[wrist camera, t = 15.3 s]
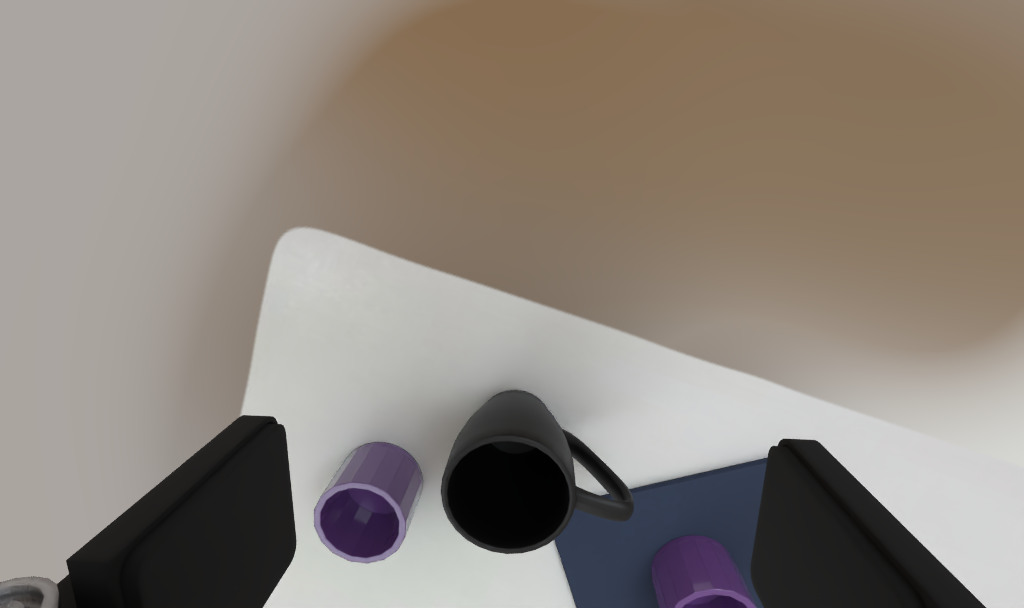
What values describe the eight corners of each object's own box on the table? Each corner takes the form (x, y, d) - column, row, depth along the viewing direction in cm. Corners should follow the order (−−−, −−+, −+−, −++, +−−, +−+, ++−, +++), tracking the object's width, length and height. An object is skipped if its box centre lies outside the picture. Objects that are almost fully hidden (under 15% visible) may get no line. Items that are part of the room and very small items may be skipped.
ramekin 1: (406, 433, 42) (386, 473, 36) (433, 504, 43) (418, 552, 38) (330, 452, 42) (299, 494, 37) (359, 521, 44) (333, 571, 38)
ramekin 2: (725, 526, 41) (752, 581, 36) (741, 594, 43) (769, 656, 38) (642, 544, 42) (657, 600, 37) (660, 610, 44) (677, 672, 38)
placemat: (798, 450, 40) (802, 454, 40) (830, 617, 44) (834, 623, 43) (545, 508, 43) (545, 512, 42) (595, 662, 46) (596, 668, 46)
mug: (598, 492, 42) (615, 583, 33) (452, 455, 42) (427, 536, 33) (629, 400, 40) (656, 470, 31) (476, 361, 40) (456, 419, 30)
